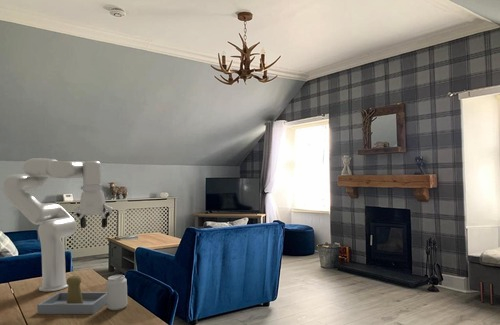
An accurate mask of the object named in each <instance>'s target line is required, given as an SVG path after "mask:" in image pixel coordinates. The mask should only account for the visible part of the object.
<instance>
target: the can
mask: <svg viewBox="0 0 500 325" xmlns="http://www.w3.org/2000/svg"><path fill="white" fill-rule="evenodd" d="M127 283H128V282H127V278H126V277H125V275H123V274H115V275H111V276H108V277H107V281H106V282H105V284H106V292H107V303H106V307H107V309H109V310H110V311H121V310H122V309H125V308H126V306H128V284H127Z"/></svg>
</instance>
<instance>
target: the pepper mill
mask: <svg viewBox="0 0 500 325" xmlns="http://www.w3.org/2000/svg"><path fill="white" fill-rule="evenodd" d="M66 281H67V285H68V287H67V292H68V295H67V304H83V299H82V294H81V292H82V288H81V282H82V277H81V276H80V275H71V276H68V277H67V278H66Z"/></svg>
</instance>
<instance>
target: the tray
mask: <svg viewBox="0 0 500 325" xmlns="http://www.w3.org/2000/svg"><path fill="white" fill-rule="evenodd" d="M81 294H82V299H83V304H67V295H68V291H59V292H57V293H55V294H54V295H52V296H50V297H48V298H47V299H45V300H43V301H41V302H40V303H37V314H38V315H63V314H64V315H94V314H95V313H96V312H98V311H99V310H100V309H101V308H103V307H104V306H106V305H107V291H81Z"/></svg>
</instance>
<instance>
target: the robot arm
mask: <svg viewBox="0 0 500 325" xmlns="http://www.w3.org/2000/svg"><path fill="white" fill-rule="evenodd" d="M22 170H23V171H24V173H17V174H16V173H15V174H10V175H8V176H6V177H5V178H4V179H3V181H2V183H1V186H2V193H3V195H4V197H5V198H6V199H7V200H8V201H9V203H11V204H12V205H13V206H14V207H15V208H16V209H18V210H19V211H20V212H21V214H23V216H24V217H25V218H27V221H29V222H30V223H32V224H33V225H37V226H38V225H39V226H38V229H37V230H38V232H37V233H38V238H39V240H40V248H41V249H40V250H41V274H42V275H41V276H42V277H41V278H42V284H41V285H40V286H39V287H38V291H39V292H43V293H44V292H46V293H47V292H55V291H57V292H58V291H60V290H64V289H66V288H68V285H67V278H66V277H67V276H66V275H67V274H66V253H65V252H66V251H65V248H66V247H65V245H64V243H63V241H62V240H61V239H62V238H66V237H69V236H70V237H71V236H72V235H74V234H75V233H76V232H77V229H78V224H77V221H76V220H75V219H74V217H73V216H72V215H71V214H70V213H69V212H68V211H67V210H66V209H65V208H64V207H63V206H61V205H60V204H58V203H57V202H47V203H42V202H41V201H39V200H38V199H37V198H36V197H35V196H34V195H32V194H30V193H28V192H32V191H37V190H38V191H39V189H41V188H42V187H43V186H44V185H45V184H46V183H47V182H48V180H50V179H51V178H52V179H79V178H80V179H81V178H82V179H83V181H82V182H83V183H82V184H83V185H82V186H80V190H82V192H81V193H80V194H81V195H80V201H79V202H80V203H79V206H77V207H75V208H74V209H73V211H74V213H75V214H76V216H77V217H78V219H79V224H80V229H83V228H86V227H87V218H86V217H87V216H89V215H90V216H96V215H100V216H101V217H102V218H101V228H103V229H104V228H107V226H108V218H109V216H110V215H111V214H112V211H113V209H114V208H113V207H112V206H109V205H108V204H107V203H106V198H105V194H104V191H103V188H102V187H103V184H102V183H103V182H102V164H101V162H100V161H98V160H87V161H83V160H74V161H73V160H70V161H67V160H66V161H64V160H57V159H55V158H40V157H38V158H34V157H33V158H30V159H27V160H26V161H25V162H24V163H23V165H22Z"/></svg>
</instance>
